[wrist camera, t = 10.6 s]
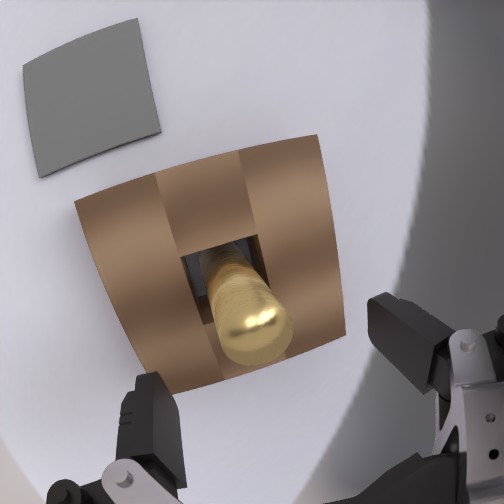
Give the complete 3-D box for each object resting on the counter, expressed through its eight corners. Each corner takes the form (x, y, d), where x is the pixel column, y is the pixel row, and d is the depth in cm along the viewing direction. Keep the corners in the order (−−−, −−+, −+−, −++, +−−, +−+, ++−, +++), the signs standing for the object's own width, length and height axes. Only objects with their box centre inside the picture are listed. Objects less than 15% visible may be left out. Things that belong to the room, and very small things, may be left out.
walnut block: (93, 194, 17) (74, 201, 14) (291, 139, 20) (317, 134, 16) (161, 364, 22) (161, 397, 18) (322, 311, 24) (345, 335, 20)
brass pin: (193, 246, 20) (210, 316, 11) (235, 233, 20) (286, 291, 11) (206, 285, 21) (231, 374, 12) (245, 272, 21) (298, 351, 12)
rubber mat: (25, 67, 13) (22, 65, 12) (138, 20, 14) (137, 17, 14) (42, 177, 16) (39, 177, 15) (161, 132, 17) (160, 131, 17)
